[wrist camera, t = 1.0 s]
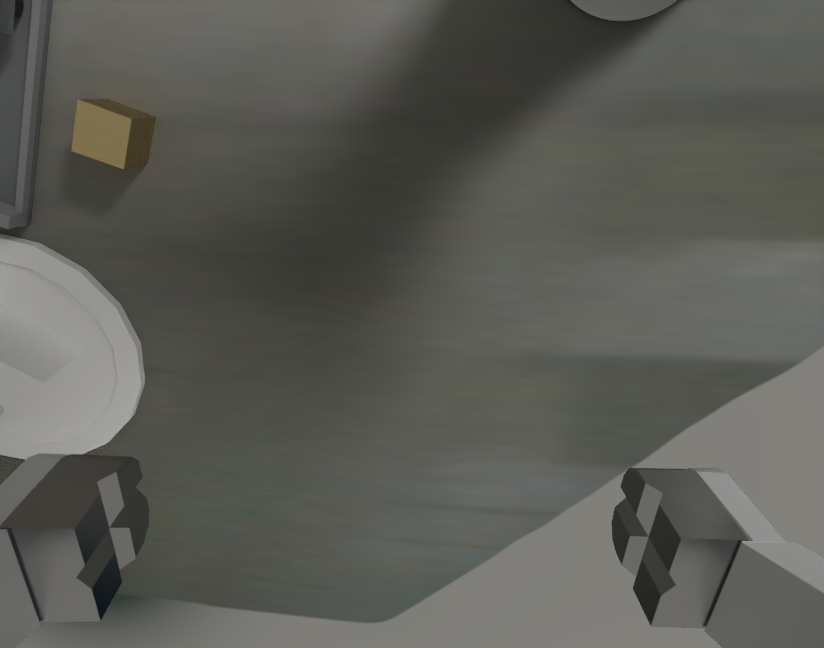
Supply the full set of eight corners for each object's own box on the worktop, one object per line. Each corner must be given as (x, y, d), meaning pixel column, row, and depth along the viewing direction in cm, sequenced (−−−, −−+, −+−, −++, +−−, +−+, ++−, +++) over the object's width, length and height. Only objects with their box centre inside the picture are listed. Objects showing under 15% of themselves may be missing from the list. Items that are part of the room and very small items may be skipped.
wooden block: (107, 98, 44) (77, 99, 40) (155, 116, 45) (131, 119, 40) (100, 146, 45) (71, 151, 41) (147, 162, 46) (123, 169, 42)
